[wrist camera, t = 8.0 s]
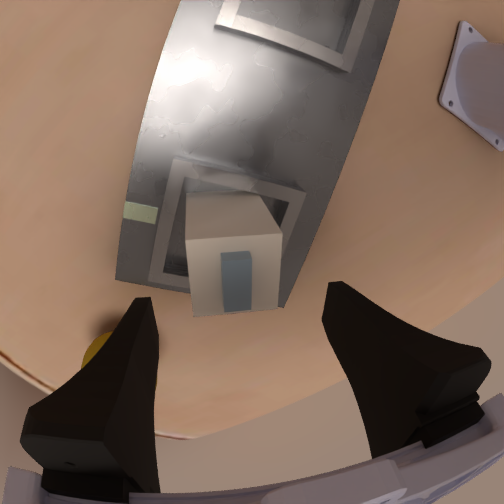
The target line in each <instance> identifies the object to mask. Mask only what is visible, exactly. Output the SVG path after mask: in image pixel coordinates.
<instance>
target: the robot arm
mask: <svg viewBox="0 0 504 504" xmlns="http://www.w3.org/2000/svg"><path fill="white" fill-rule="evenodd" d="M439 102H440V104H441V105H442V106H443V107H444V108H446V109H447V110H448V111H450V112H451V113H452V114H454V115H455V116H457V117H458V118H459V119H460V120H462V121H463V122H464V123H466V124H467V125H468V126H469V127H471V128H472V129H473V130H474V131H476V132H477V133H478V134H479V135H481V136H482V137H483V138H484V139H485V140H487V141H488V142H489V143H490V144H491V145H492V146H494V147H495V148H496V149H497V150H498V151H501V152H502V151H503V150H504V43H489V42H488V41H487V40H486V39H485V38H484V37H483V36H482V35H481V34H480V33H479V32H478V31H477V30H476V29H474V28H473V27H472V26H471V25H470V24H469V23H468V22H467V21H460V24H459V28H458V32H457V36H456V41H455V44H454V48H453V52H452V56H451V60H450V63H449V67H448V70H447V74H446V77H445V80H444V84H443V87H442V90H441V93H440V97H439ZM449 102H450V105H449ZM322 323H323V326H324V329H325V332H326V335H327V337H328V340H329V342H330V344H331V346H332V348H333V350H334V352H335V354H336V356H337V358H338V360H339V362H340V364H341V366H342V368H343V370H344V372H345V374H346V376H347V378H348V380H349V382H350V384H351V387H352V389H353V392H354V395H355V397H356V400H357V403H358V406H359V409H360V413H361V416H362V419H363V423H364V426H365V430H366V434H367V438H368V441H369V446H370V451H371V456H372V459H371V460H368V461H365V462H362V463H358V464H355V465H352V466H349V467H345V468H342V469H339V470H334V471H331V472H327V473H323V474H319V475H315V476H311V477H306V478H301V479H297V480H292V481H287V482H281V483H276V484H270V485H264V486H257V487H250V488H243V489H234V490H224V491H212V492H198V493H161V492H160V485H159V478H158V469H157V460H156V449H155V432H154V399H155V389H156V379H157V370H158V360H159V334H158V330H157V325H156V321H155V316H154V311H153V306H152V301H151V297H142V298H135V299H134V300H133V302H132V304H131V305H130V307H129V308H128V310H127V312H126V313H125V315H124V316H123V318H122V319H121V321H120V322H119V324H118V325H117V327H116V328H115V330H114V331H113V332H112V334H111V335H110V337H109V338H108V339H107V340H106V342H105V343H104V344H103V346H102V347H101V348H100V349H99V351H98V352H97V353H96V354H95V355H94V356H93V358H92V359H91V360H90V361H89V362H88V363H87V364H86V365H85V366H84V367H83V368H82V369H81V370H80V371H79V372H78V373H76V374H75V375H74V376H73V377H72V378H71V379H70V380H69V381H67V382H66V383H65V384H64V385H62V386H61V387H60V388H58V389H57V390H56V391H54V392H53V393H52V394H50V395H49V396H47V397H46V398H44V399H42V400H41V401H39V402H38V403H36V404H34V405H33V406H31V407H29V409H28V412H27V415H26V418H25V421H24V425H23V430H22V434H21V438H20V443H21V445H22V447H23V448H24V450H25V451H26V452H27V453H28V454H29V455H30V456H31V457H32V458H33V459H34V460H35V461H36V462H38V464H40V465H41V466H42V467H43V474H42V476H41V475H40V474H38V473H36V472H32V471H28V470H24V469H20V468H15V467H12V466H10V467H8V472H7V477H6V483H5V488H4V494H3V501H2V504H431V503H433V502H435V501H437V500H439V499H440V498H442V497H444V496H446V495H447V494H449V493H451V492H452V491H454V490H456V489H457V488H459V487H460V486H462V485H464V484H465V483H467V482H468V481H470V480H471V479H473V478H474V477H476V476H477V475H479V474H480V473H482V472H483V471H485V470H486V469H488V468H489V467H490V466H492V465H493V464H495V463H496V462H497V461H498V460H500V459H501V458H502V457H503V456H504V396H503V395H502V393H499V394H498V395H496V396H494V397H493V398H491V399H489V400H487V401H486V402H485V403H483V404H482V405H481V406H480V405H479V404H478V402H477V401H478V400H479V395H478V394H477V392H476V391H477V389H478V388H479V387H480V385H481V384H482V383H483V381H484V380H485V378H486V377H487V375H488V373H489V371H490V369H491V360H490V359H489V358H488V357H487V355H486V354H485V353H484V352H483V350H482V349H481V348H479V347H474V346H469V345H465V344H460V343H456V342H453V341H450V340H446V339H443V338H440V337H438V336H435V335H433V334H430V333H428V332H425V331H423V330H421V329H418V328H416V327H414V326H412V325H410V324H408V323H406V322H404V321H403V320H401V319H399V318H397V317H396V316H394V315H392V314H391V313H389V312H387V311H386V310H384V309H383V308H381V307H380V306H378V305H377V304H375V303H374V302H372V301H371V300H369V299H368V298H366V297H365V296H363V295H362V294H361V293H359V292H358V291H356V290H355V289H353V288H352V287H350V286H349V285H347V284H346V283H344V282H343V281H337V282H329V283H328V289H327V294H326V300H325V305H324V310H323V315H322Z"/></svg>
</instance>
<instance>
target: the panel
mask: <svg viewBox="0 0 504 504" xmlns="http://www.w3.org/2000/svg"><path fill="white" fill-rule="evenodd" d="M399 1H400V0H181V2H180V4H179V7H178V10H177V12H176V15H175V17H174V20H173V23H172V25H171V28H170V31H169V34H168V37H167V39H166V42H165V45H164V48H163V51H162V54H161V57H160V61H159V64H158V67H157V70H156V73H155V77H154V80H153V83H152V87H151V90H150V94H149V97H148V101H147V105H146V109H145V112H144V116H143V120H142V124H141V128H140V133H139V137H138V141H137V145H136V150H135V155H134V159H133V164H132V169H131V174H130V179H129V184H128V190H127V196H126V201H125V206H124V212H123V220H122V227H121V234H120V241H119V249H118V257H117V266H116V276H115V280H119V281H124V282H129V283H135V284H140V285H145V286H151V287H156V288H161V289H167V290H173V291H178V292H184V293H190V294H191V291H190V282H189V273H188V264H187V254H186V243H185V224H186V193H195V192H211V191H228V190H244V191H248V192H252V193H256V194H259V195H260V197H261V199H262V200H263V202H264V204H265V205H266V207H267V208H268V210H269V212H270V213H271V215H272V217H273V218H274V220H275V222H276V223H277V225H278V227H279V228H280V230H281V232H282V233H283V234H282V250H281V266H280V281H279V295H278V307H282V308H284V306H285V304H286V301H287V299H288V297H289V295H290V293H291V290H292V288H293V286H294V283H295V281H296V279H297V277H298V274H299V272H300V270H301V267H302V265H303V263H304V261H305V258H306V256H307V254H308V251H309V249H310V246H311V244H312V242H313V239H314V237H315V235H316V232H317V230H318V227H319V225H320V223H321V220H322V218H323V215H324V213H325V210H326V208H327V205H328V203H329V200H330V198H331V196H332V193H333V190H334V188H335V185H336V183H337V180H338V178H339V175H340V173H341V170H342V168H343V165H344V162H345V160H346V157H347V154H348V152H349V149H350V147H351V144H352V141H353V139H354V136H355V133H356V130H357V128H358V125H359V122H360V119H361V117H362V114H363V111H364V108H365V106H366V103H367V100H368V97H369V94H370V91H371V88H372V86H373V83H374V80H375V77H376V74H377V71H378V68H379V65H380V62H381V59H382V56H383V53H384V50H385V47H386V43H387V40H388V37H389V34H390V31H391V28H392V24H393V21H394V18H395V15H396V11H397V8H398V5H399Z"/></svg>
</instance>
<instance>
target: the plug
mask: <svg viewBox="0 0 504 504" xmlns="http://www.w3.org/2000/svg"><path fill="white" fill-rule="evenodd" d="M282 234H283V233H282V232H281V230H280V228H279V227H278V225H277V223H276V222H275V220H274V218H273V217H272V215H271V213H270V212H269V210H268V208H267V207H266V205H265V204H264V202H263V200H262V199H261V197H260V195H259V194H256V193H252V192H248V191H244V190H228V191H211V192H195V193H186V224H185V243H186V254H187V264H188V273H189V282H190V291H191V300H192V308H193V316H194V317H200V316H212V315H223V314H234V313H244V312H254V311H263V310H272V309H278V295H279V281H280V266H281V250H282Z"/></svg>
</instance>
